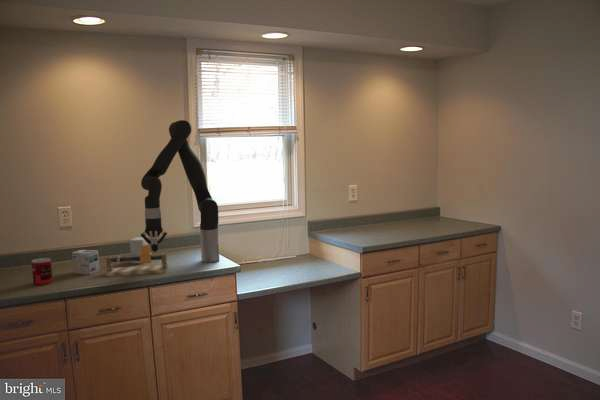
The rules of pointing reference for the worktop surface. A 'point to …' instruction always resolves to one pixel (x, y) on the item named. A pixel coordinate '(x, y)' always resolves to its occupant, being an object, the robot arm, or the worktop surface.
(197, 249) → the worktop surface
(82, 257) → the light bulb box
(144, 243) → the supplement box
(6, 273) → the worktop surface
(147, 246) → the sleeve
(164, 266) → the beige long open box
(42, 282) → the canned food
